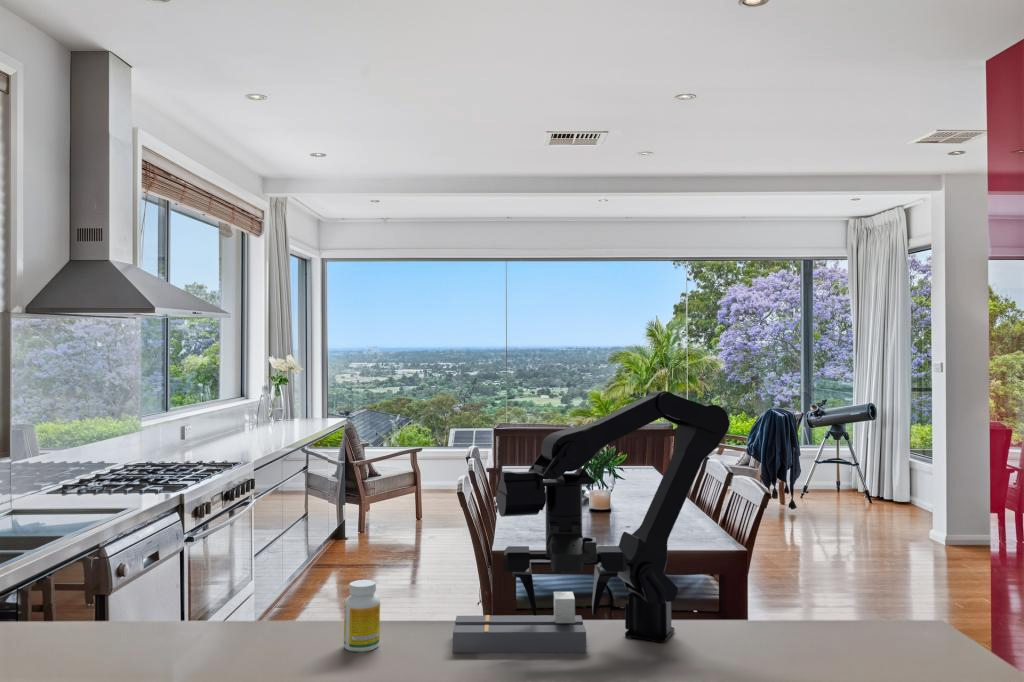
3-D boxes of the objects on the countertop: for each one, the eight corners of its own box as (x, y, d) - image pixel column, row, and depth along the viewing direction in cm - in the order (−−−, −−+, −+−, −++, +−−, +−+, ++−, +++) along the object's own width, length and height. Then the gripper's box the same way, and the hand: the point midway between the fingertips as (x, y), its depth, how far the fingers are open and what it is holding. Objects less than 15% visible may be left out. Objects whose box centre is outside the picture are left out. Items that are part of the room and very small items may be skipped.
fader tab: (572, 627, 118) (572, 591, 118) (575, 635, 114) (574, 599, 114) (553, 627, 118) (553, 591, 118) (555, 635, 114) (555, 599, 114)
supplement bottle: (336, 646, 114) (337, 583, 115) (365, 637, 118) (366, 576, 118) (357, 655, 110) (358, 589, 111) (386, 646, 114) (387, 582, 115)
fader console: (581, 634, 119) (581, 614, 120) (586, 652, 111) (586, 631, 112) (456, 634, 119) (456, 614, 120) (452, 652, 111) (452, 631, 112)
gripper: (503, 523, 109) (504, 632, 108) (631, 522, 109) (633, 632, 108) (504, 510, 120) (504, 609, 119) (620, 509, 120) (621, 608, 119)
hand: (564, 614), depth 116 cm, fingers open, 9 cm apart
